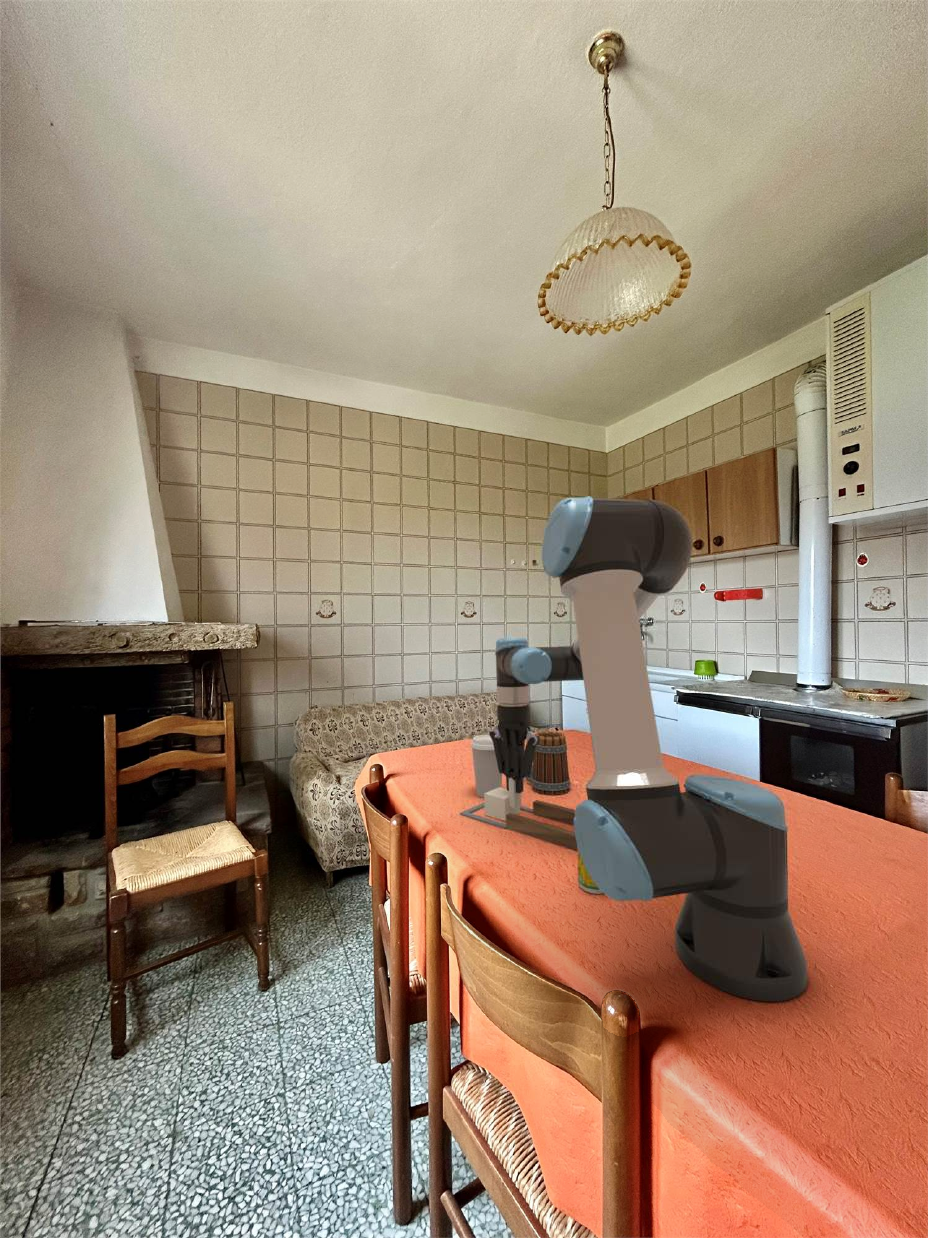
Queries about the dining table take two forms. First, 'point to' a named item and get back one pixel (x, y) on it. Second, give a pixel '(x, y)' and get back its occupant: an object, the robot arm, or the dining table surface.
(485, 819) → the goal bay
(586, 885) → the supplement bottle
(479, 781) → the coffee cup
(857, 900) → the dining table surface
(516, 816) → the chute
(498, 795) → the block
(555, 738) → the mug
